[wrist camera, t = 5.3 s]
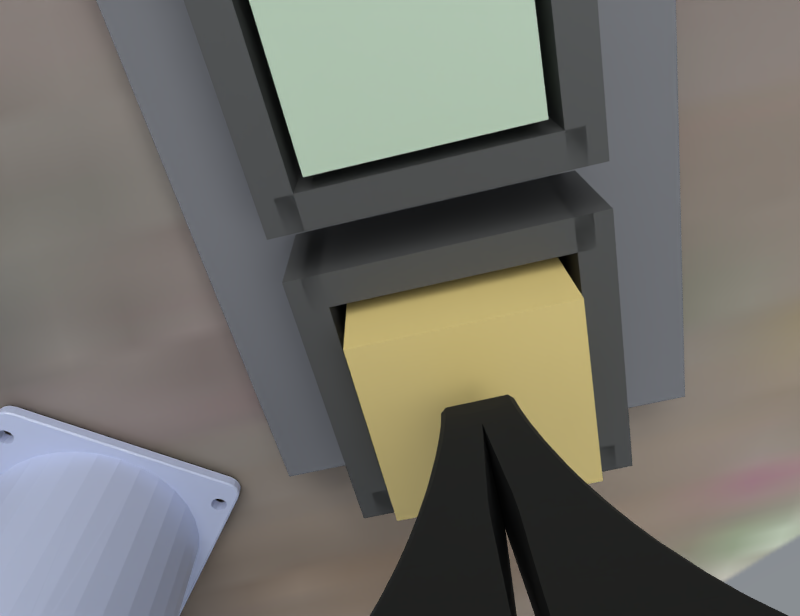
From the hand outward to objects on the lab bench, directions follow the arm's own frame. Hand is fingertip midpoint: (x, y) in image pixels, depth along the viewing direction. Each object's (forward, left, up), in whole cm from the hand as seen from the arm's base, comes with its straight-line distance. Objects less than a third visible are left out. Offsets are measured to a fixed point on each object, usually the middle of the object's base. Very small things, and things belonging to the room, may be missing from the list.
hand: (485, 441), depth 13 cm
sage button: (+6, +5, -5) cm, 9 cm away
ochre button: (0, 0, -4) cm, 4 cm away
